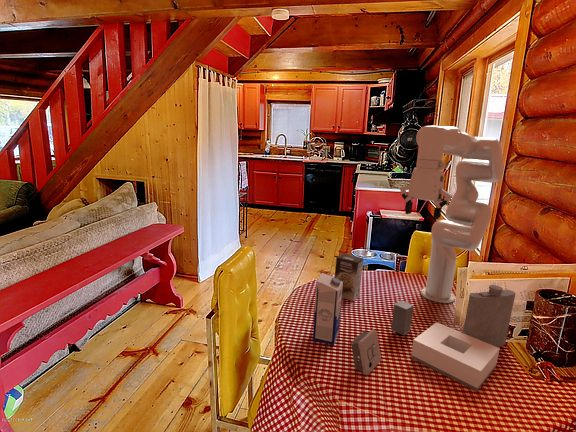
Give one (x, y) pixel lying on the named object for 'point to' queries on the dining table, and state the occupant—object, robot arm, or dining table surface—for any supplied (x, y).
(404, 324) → the plug
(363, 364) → the electrical switch
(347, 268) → the coffee box
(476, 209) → the robot arm
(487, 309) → the hip flask
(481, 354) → the socket
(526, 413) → the dining table surface
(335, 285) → the milk carton
